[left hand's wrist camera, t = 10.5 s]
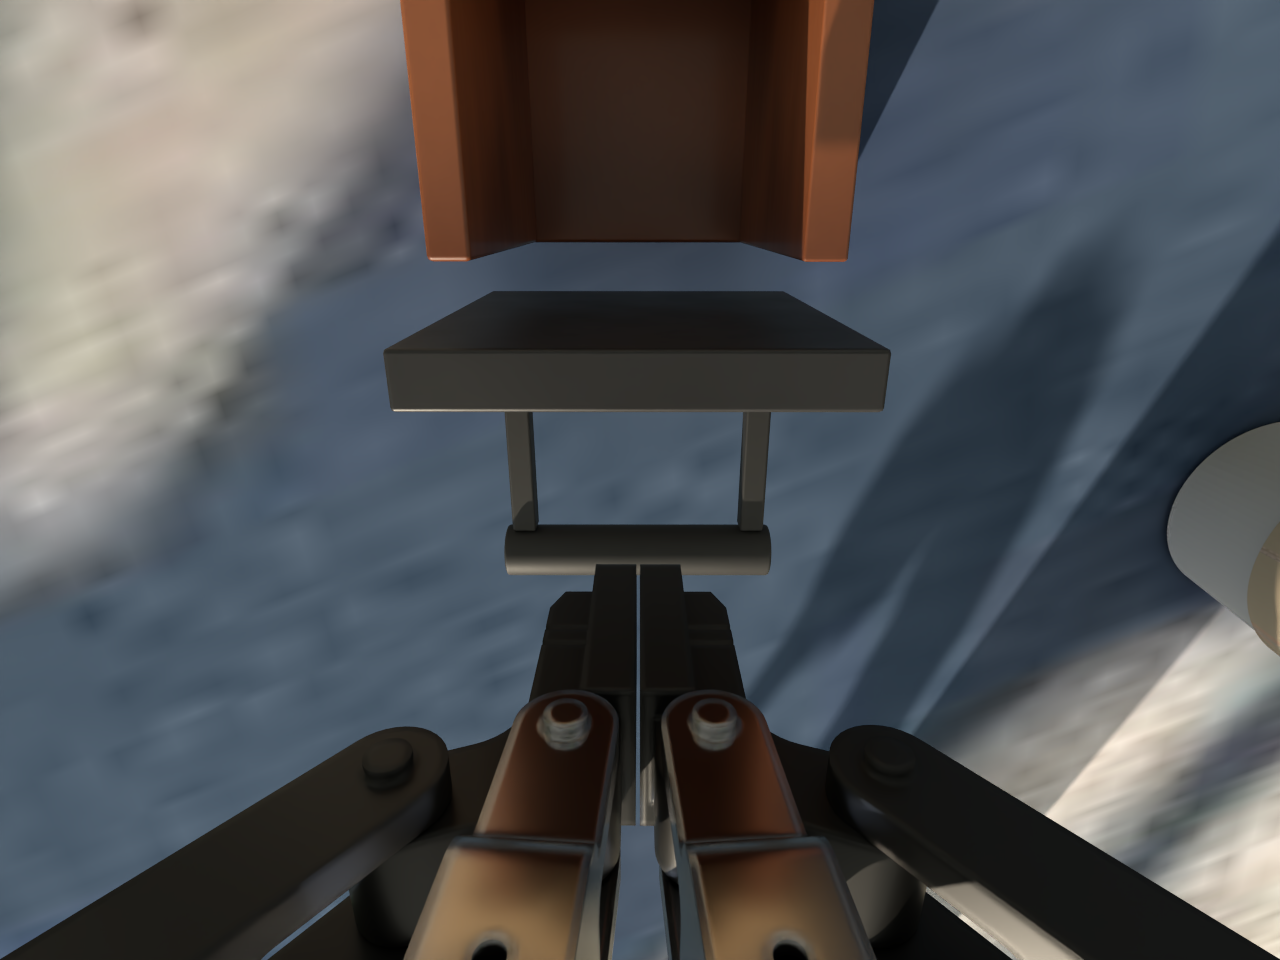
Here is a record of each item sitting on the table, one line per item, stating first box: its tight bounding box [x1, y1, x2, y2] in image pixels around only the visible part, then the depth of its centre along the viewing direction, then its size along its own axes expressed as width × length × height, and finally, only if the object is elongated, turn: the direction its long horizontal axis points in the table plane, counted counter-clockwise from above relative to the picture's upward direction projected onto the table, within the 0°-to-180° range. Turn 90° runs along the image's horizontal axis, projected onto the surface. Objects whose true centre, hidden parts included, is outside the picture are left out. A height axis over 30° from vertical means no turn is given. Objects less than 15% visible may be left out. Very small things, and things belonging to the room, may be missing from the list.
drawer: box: [383, 0, 891, 575], centre depth 16 cm, size 23×9×10 cm, turn 0°
